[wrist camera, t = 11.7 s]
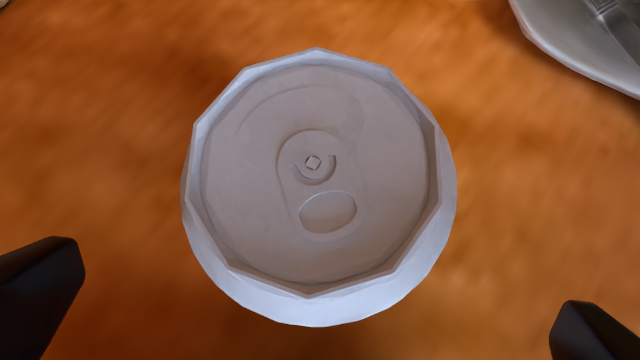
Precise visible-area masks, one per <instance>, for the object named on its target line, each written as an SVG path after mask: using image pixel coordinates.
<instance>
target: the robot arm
mask: <svg viewBox="0 0 640 360" xmlns="http://www.w3.org/2000/svg"><path fill="white" fill-rule="evenodd" d="M84 280H85V267H84V264H83V260H82V257H81V253H80V250H79V247H78V244H77V242H76V241H75V240H74V239H72V238H69V237H61V236H50V237H47V238H44V239H42V240H39V241H37V242H34V243H32V244H29V245H27V246H24V247H22V248H19V249H17V250H14V251H12V252H9V253H7V254H4V255H2V256H0V360H40V358H41V357H42V355H43V353H44V352H45V350H46V348H47V347H48V345H49V343H50V342H51V340H52V338H53V336H54V335H55V333H56V331H57V329H58V327H59V326H60V324H61V322H62V320H63V319H64V317H65V315H66V313H67V311H68V310H69V308H70V306H71V304H72V303H73V301H74V299H75V297H76V296H77V294H78V292H79V290H80V288H81V287H82V285H83V283H84ZM549 346H550V350H551V355H552V359H553V360H640V338H639V337H638V336H637V335H635V334H634V333H633V332H632V331H630V330H629V329H628V328H626V327H625V326H624V325H622V324H621V323H620V322H618V321H617V320H616V319H614V318H613V317H612V316H610V315H609V314H608V313H606V312H605V311H604V310H603V309H601V308H600V307H599V306H597V305H596V304H594V303H591V302H585V301H577V300H568V301H566V302H565V303H564V304H563V305H562V307H561V309H560V312H559V314H558V316H557V318H556V320H555V322H554V324H553V326H552V329H551V331H550V335H549Z"/></svg>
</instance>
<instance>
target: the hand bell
mask: <svg viewBox="0 0 640 360" xmlns="http://www.w3.org/2000/svg"><path fill="white" fill-rule="evenodd" d="M8 1H9V0H0V8H1V7H3V6H4V5H5V4H6V3H7V2H8Z"/></svg>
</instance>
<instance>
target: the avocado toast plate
mask: <svg viewBox="0 0 640 360" xmlns="http://www.w3.org/2000/svg"><path fill="white" fill-rule="evenodd" d="M507 1H508V3H509V5H510V7H511V9H512V11H513V13H514V15H515V17H516V19H517V21H518V23H519V26H520V29H521V32H522V33H523V34H524V36H525V37H526V38H527V39H528V40H530V41H531V42H532V43H534V44H535V45H536V46H537V47H538V48H539V49H541V50H542V51H543V52H545V53H546V54H548V55H549V56H551V57H553V58H554V59H556V60H557V61H559V62H560V63H562V64H563V65H565V66H566V67H568V68H570V69H571V70H573V71H575V72H578V73H580V74H582V75H584V76H586V77H588V78H590V79H592V80H595V81H597V82H600V83H602V84H604V85H606V86H609V87H611V88H613V89H615V90H618V91H620V92H622V93H624V94H626V95H628V96H630V97H633V98H635V99H637V100H639V101H640V0H507Z"/></svg>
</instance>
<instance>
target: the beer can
mask: <svg viewBox="0 0 640 360" xmlns="http://www.w3.org/2000/svg"><path fill="white" fill-rule="evenodd" d="M180 200H181V214H182V222H183V225H184V228H185V231H186V234H187V237H188V240H189V243H190V246H191V249H192V251H193V253H194V255H195V256H196V258H197V260H198V261H199V263H200V264H201V266H202V267H203V269H204V270H205V272H206V274H207V275H208V276H209V277H210V278H211V279H212V281H213V282H214V283H215V284H216V285H217V286H218V287H219V288H220V289H221V290H223V291H224V292H225V293H226V294H227V295H228V296H229V297H231V298H232V299H233V300H235V301H236V302H237V303H239V304H240V305H241V306H243V307H245V308H247V309H249V310H252V311H254V312H256V313H259V314H261V315H263V316H265V317H268V318H270V319H272V320H274V321H277V322H281V323H286V324H292V325H301V326H308V327H327V326H332V325H338V324H343V323H348V322H353V321H359V320H362V319H364V318H366V317H369V316H371V315H373V314H376V313H378V312H380V311H383V310H385V309H387V308H389V307H391V306H392V305H394V304H395V303H397V302H398V301H400V300H401V299H403V298H404V297H405V296H406V295H407V294H408V293H409V292H410V291H411V290H412V289H413V288H415V287H416V286H417V285H418V284H419V283H420V282H421V281H422V280H423V279H424V278H425V277H426V276H427V275H428V273H429V271H430V270H431V268H432V266H433V265H434V263H435V262H436V260H437V258H438V257H439V255H440V253H441V252H442V250H443V248H444V247H445V245H446V243H447V240H448V237H449V234H450V231H451V228H452V224H453V220H454V217H455V214H456V204H457V174H456V169H455V165H454V162H453V158H452V155H451V151H450V147H449V144H448V140H447V138H446V136H445V135H444V133H443V131H442V130H441V128H440V126H439V124H438V123H437V121H436V119H435V118H434V116H433V114H432V113H431V111H430V109H429V108H427V107H426V106H425V105H424V104H423V103H422V102H421V101H420V100H419V99H418V98H417V97H416V96H415V95H414V94H413V93H412V92H411V91H410V90H408V89H407V87H406V86H405V85H404V84H403V83H402V82H401V81H400V79H399V78H398V77H397V76H396V75H395V74H394V72H393V71H392V70H391V69H390V68H389V67H388V66H384V65H380V64H377V63H373V62H370V61H366V60H362V59H359V58H355V57H352V56H348V55H345V54H341V53H337V52H334V51H330V50H327V49H323V48H319V47H313V48H310V49H306V50H303V51H299V52H296V53H292V54H289V55H285V56H282V57H279V58H275V59H272V60H268V61H265V62H261V63H258V64H254V65H251V66H247V67H244V68H243V69H242V70H241V71H240V72H239V74H238V75H237V76H236V77H235V78H234V79H233V80H232V81H231V82H230V84H229V85H228V86H227V87H226V88H225V89H224V90H223V91H222V92H221V94H220V95H219V96H218V97H217V98H216V99H215V100H214V101H213V102H212V104H211V105H210V106H209V107H208V108H207V109H206V110H205V111H204V113H203V114H202V115H201V116H200V117H199V118H198V119H197V120H196V121H195V123H194V124H193V132H192V138H191V141H190V144H189V146H188V150H187V154H186V158H185V162H184V166H183V170H182V175H181V180H180Z"/></svg>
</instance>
